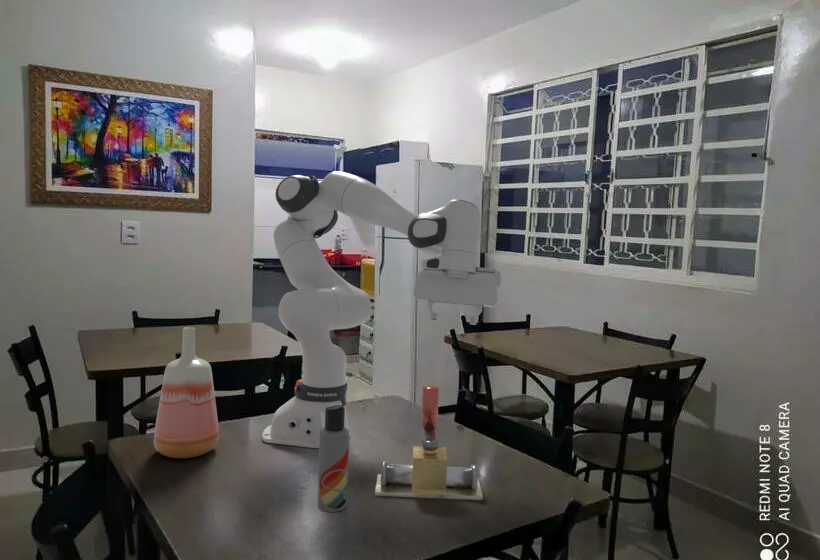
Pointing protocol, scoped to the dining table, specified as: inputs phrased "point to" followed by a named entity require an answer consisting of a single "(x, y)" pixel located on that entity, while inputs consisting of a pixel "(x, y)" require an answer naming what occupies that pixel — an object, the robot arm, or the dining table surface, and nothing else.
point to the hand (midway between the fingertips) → (453, 322)
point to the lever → (430, 417)
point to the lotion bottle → (333, 461)
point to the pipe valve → (428, 478)
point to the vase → (187, 405)
